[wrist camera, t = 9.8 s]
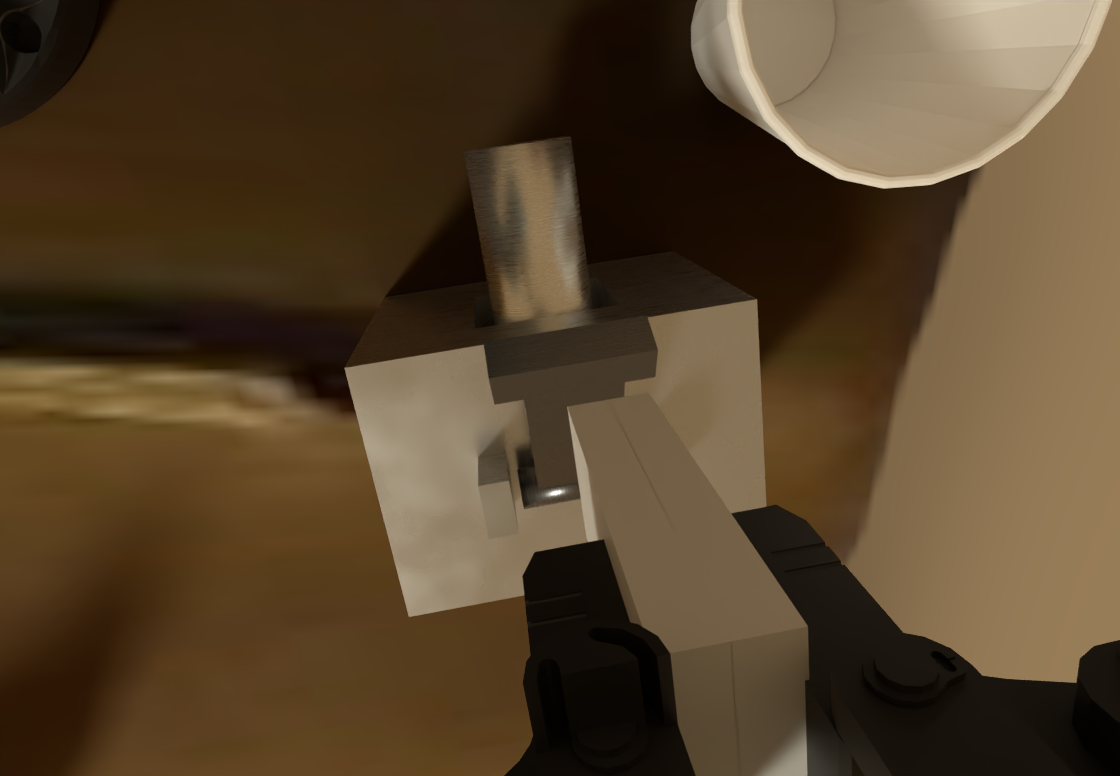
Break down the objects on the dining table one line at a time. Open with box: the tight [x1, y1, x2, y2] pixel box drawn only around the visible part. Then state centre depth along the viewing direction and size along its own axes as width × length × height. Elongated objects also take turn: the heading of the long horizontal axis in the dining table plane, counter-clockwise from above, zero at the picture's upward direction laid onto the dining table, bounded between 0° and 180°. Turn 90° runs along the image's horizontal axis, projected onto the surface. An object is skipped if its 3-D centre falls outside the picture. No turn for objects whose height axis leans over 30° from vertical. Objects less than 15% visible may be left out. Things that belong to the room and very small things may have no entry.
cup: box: [691, 0, 1112, 189], centre depth 26 cm, size 12×12×12 cm
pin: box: [464, 136, 593, 325], centre depth 29 cm, size 18×6×6 cm, turn 8°
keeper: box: [483, 315, 658, 509], centre depth 22 cm, size 8×4×1 cm
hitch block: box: [345, 251, 766, 617], centre depth 30 cm, size 10×14×13 cm
